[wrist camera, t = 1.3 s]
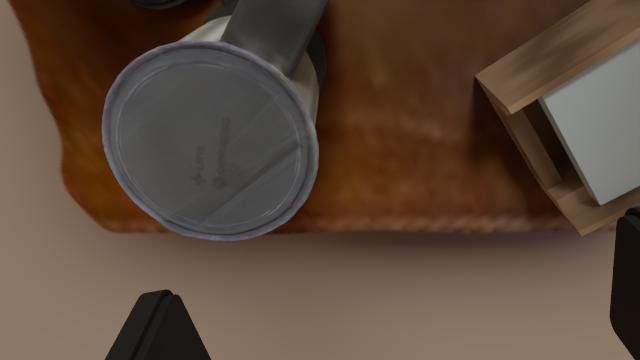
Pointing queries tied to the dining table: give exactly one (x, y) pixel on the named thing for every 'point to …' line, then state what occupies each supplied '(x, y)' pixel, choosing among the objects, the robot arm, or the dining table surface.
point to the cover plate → (601, 123)
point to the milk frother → (222, 120)
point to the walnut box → (543, 76)
